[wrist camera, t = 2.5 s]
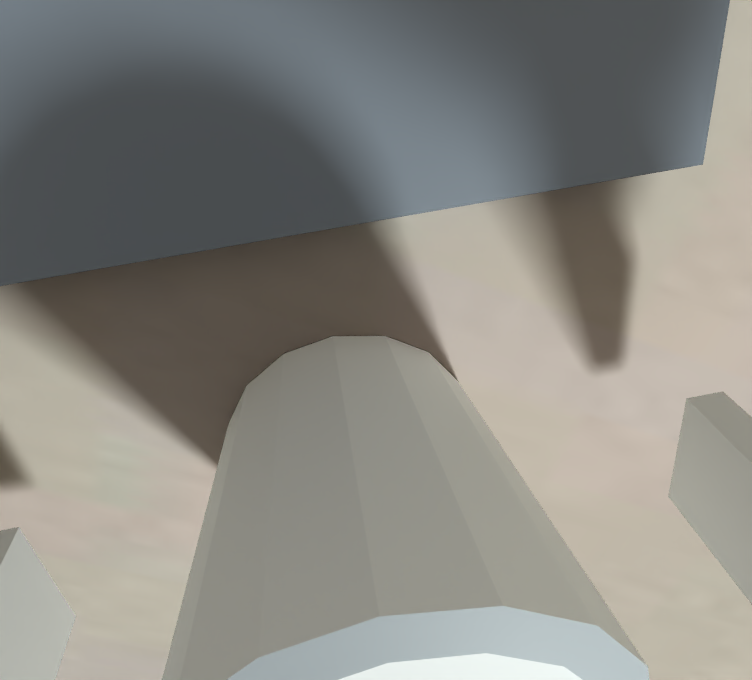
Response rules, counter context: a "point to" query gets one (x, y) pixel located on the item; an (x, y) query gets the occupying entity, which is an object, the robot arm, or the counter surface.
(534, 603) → the shot glass
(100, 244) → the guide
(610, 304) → the counter surface
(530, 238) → the counter surface
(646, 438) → the counter surface
